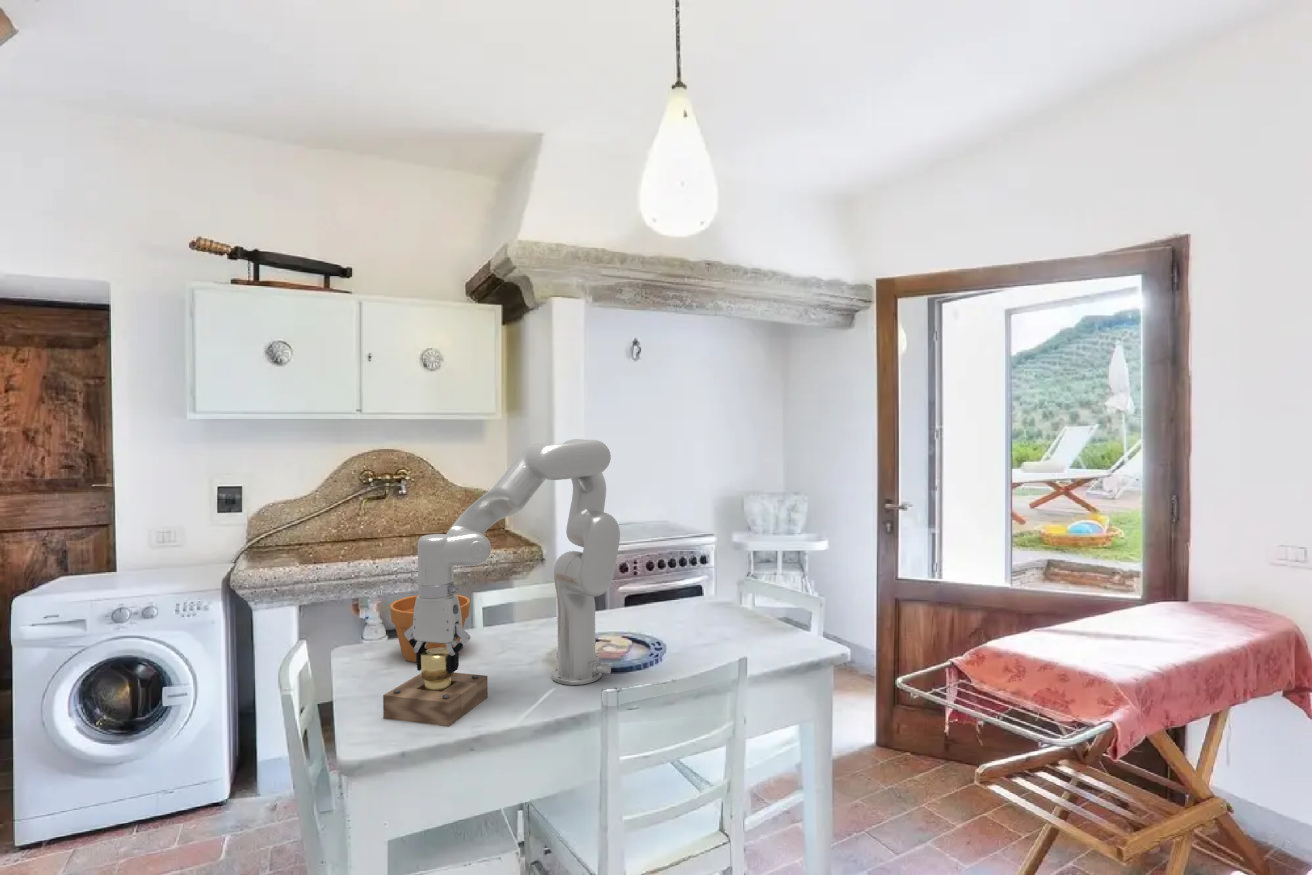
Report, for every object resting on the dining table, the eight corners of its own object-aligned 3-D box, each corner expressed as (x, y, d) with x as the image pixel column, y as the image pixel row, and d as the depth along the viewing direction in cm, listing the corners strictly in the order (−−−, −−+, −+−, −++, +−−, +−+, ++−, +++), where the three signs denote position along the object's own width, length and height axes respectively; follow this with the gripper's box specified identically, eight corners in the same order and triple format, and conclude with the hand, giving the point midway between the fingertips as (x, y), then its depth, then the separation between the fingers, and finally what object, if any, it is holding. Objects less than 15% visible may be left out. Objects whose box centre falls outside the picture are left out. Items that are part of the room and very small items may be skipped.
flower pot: (474, 640, 206) (473, 591, 205) (466, 664, 185) (465, 609, 185) (399, 645, 202) (398, 594, 202) (382, 669, 181) (382, 613, 181)
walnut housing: (487, 701, 160) (487, 673, 160) (449, 731, 144) (448, 700, 144) (427, 694, 164) (426, 667, 164) (383, 722, 149) (383, 692, 149)
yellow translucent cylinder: (460, 693, 157) (459, 648, 157) (443, 705, 150) (442, 658, 150) (433, 690, 159) (432, 646, 158) (415, 702, 152) (414, 656, 152)
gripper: (479, 588, 155) (481, 667, 156) (412, 584, 160) (413, 661, 160) (461, 596, 148) (463, 679, 148) (391, 592, 153) (393, 672, 153)
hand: (437, 669), depth 154 cm, fingers closed on yellow translucent cylinder, 7 cm apart
